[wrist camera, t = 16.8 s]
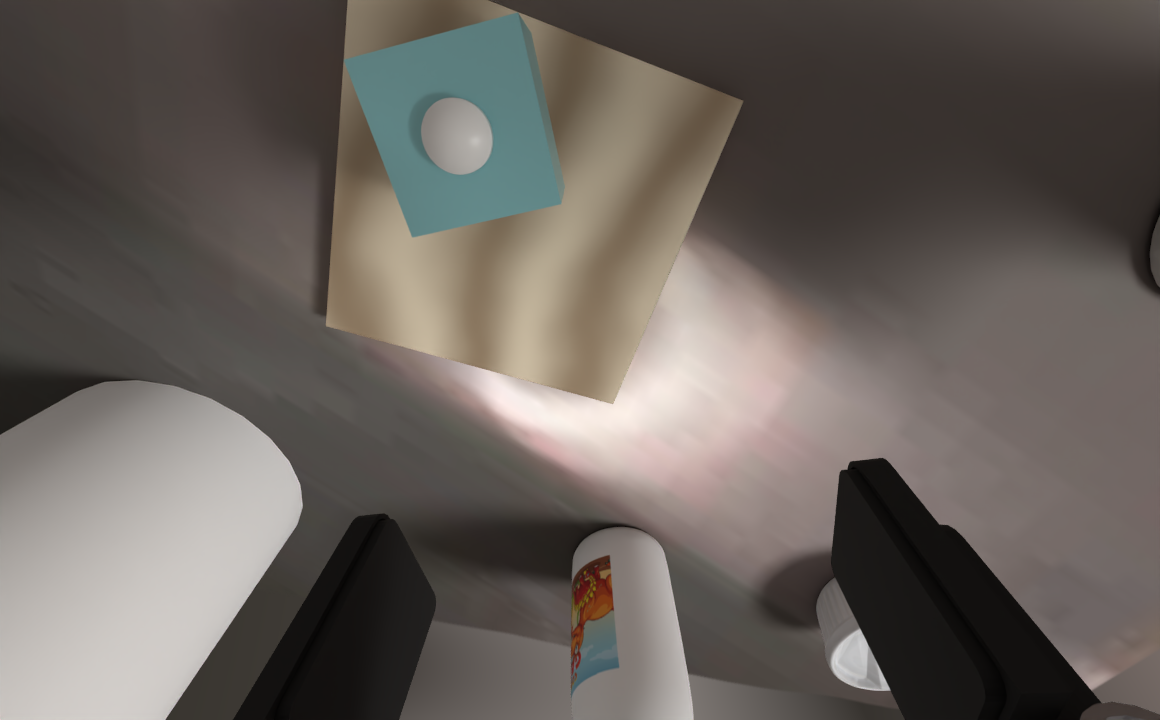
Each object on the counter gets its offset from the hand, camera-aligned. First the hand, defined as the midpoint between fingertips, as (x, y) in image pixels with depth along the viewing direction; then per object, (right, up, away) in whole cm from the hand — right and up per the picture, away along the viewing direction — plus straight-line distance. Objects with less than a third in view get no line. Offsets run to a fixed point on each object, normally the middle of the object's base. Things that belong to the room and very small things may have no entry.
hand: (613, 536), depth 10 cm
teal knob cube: (-5, +14, +11) cm, 18 cm away
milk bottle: (+3, -13, +29) cm, 32 cm away
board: (-4, +11, +16) cm, 20 cm away
